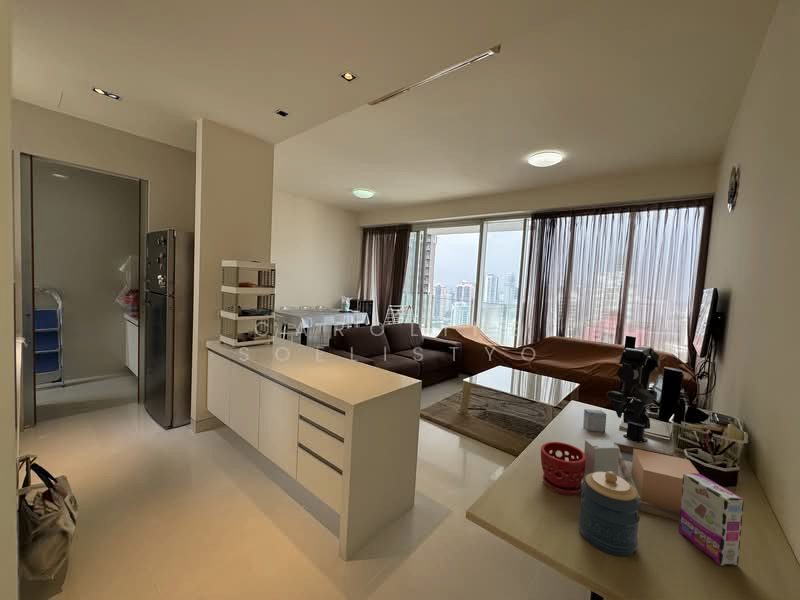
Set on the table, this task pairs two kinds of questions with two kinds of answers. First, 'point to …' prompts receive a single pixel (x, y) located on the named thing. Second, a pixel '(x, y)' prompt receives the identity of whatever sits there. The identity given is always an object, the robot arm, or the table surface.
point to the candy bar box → (711, 518)
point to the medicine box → (594, 420)
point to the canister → (609, 513)
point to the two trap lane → (627, 455)
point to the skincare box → (601, 457)
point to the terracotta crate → (660, 477)
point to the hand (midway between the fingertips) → (628, 417)
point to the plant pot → (563, 467)
